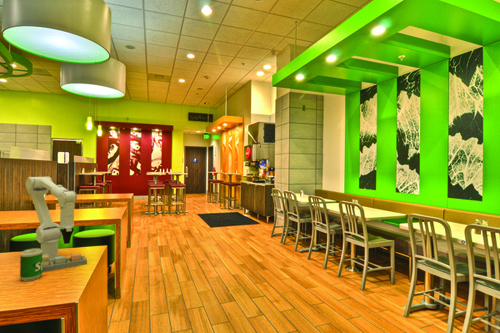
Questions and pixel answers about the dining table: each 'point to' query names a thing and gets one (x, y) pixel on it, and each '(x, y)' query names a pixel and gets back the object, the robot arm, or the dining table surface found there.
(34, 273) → the soda can
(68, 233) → the robot arm
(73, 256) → the orange brown cube
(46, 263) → the maple key
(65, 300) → the dining table surface
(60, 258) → the pale green cube
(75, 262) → the button board
